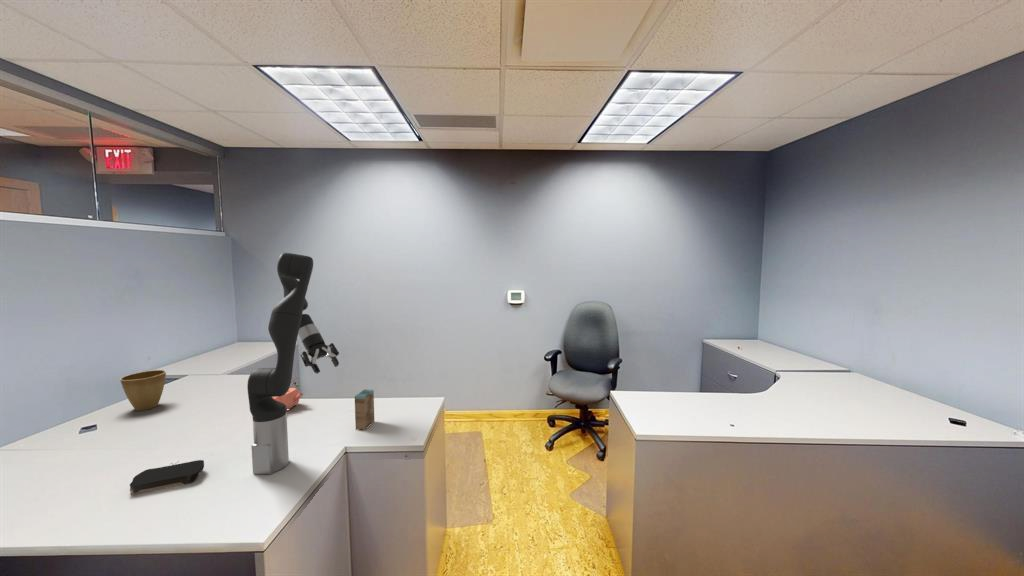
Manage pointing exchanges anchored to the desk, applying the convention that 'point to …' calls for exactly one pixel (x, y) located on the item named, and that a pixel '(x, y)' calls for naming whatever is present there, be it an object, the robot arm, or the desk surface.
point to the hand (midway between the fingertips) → (328, 369)
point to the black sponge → (166, 477)
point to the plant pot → (144, 388)
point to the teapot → (289, 398)
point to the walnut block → (364, 409)
